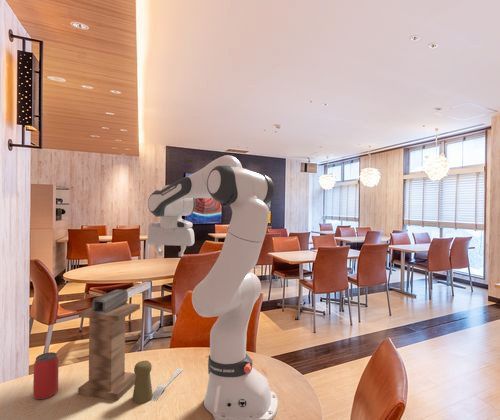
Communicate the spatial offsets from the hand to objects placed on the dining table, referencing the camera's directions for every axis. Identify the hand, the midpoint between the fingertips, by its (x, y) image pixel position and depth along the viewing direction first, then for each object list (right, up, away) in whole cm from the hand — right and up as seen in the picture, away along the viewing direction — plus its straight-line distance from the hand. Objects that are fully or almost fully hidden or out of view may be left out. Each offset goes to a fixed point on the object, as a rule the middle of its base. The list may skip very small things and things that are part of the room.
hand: (170, 255), depth 132 cm
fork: (+6, -40, -27) cm, 48 cm away
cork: (0, -39, -35) cm, 53 cm away
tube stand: (-13, -39, -29) cm, 50 cm away
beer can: (-31, -39, -33) cm, 60 cm away
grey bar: (-10, -12, -16) cm, 22 cm away
